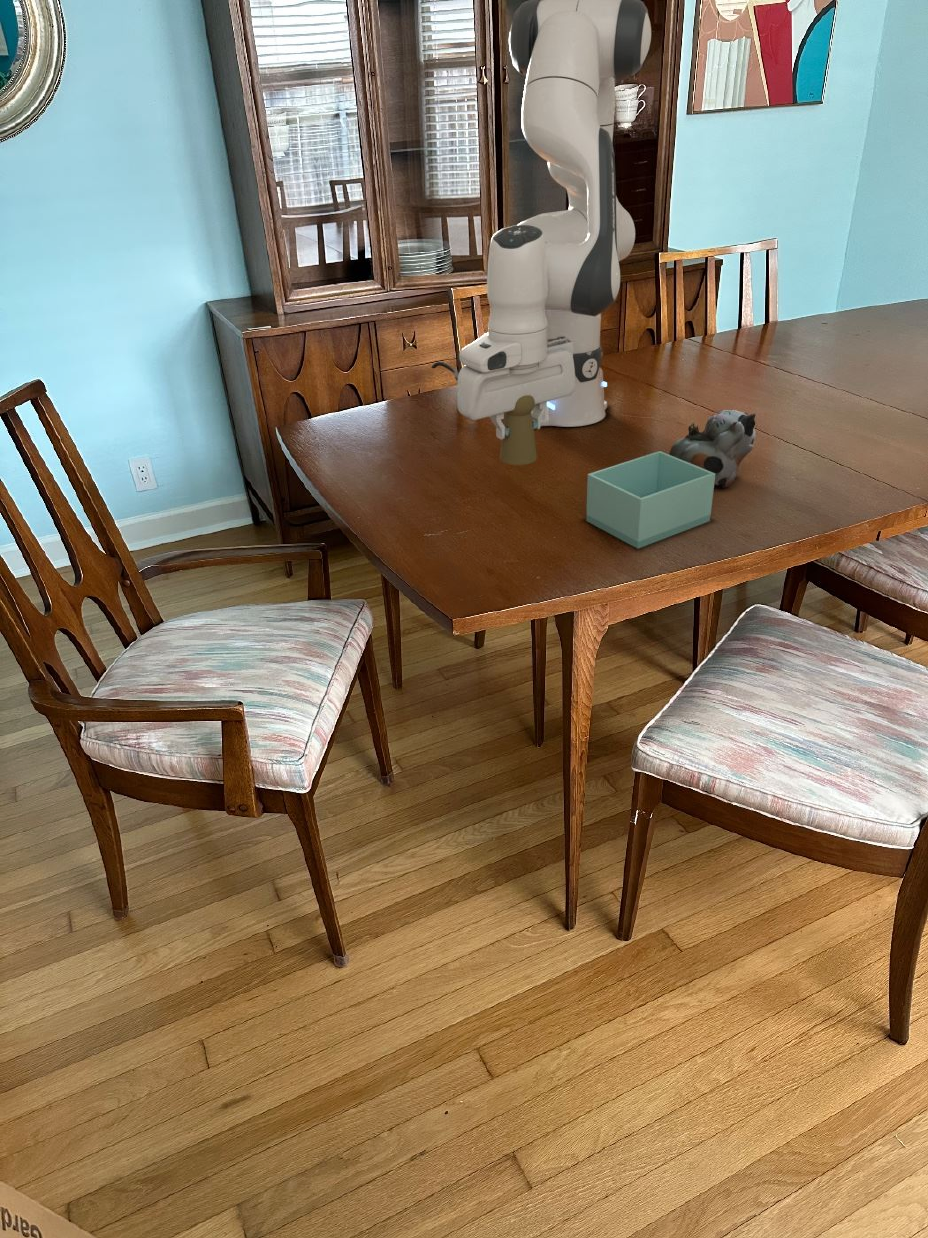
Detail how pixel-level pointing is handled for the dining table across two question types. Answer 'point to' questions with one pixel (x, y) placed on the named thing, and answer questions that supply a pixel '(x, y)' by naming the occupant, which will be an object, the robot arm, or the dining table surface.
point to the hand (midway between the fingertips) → (518, 433)
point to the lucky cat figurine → (718, 444)
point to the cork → (519, 434)
